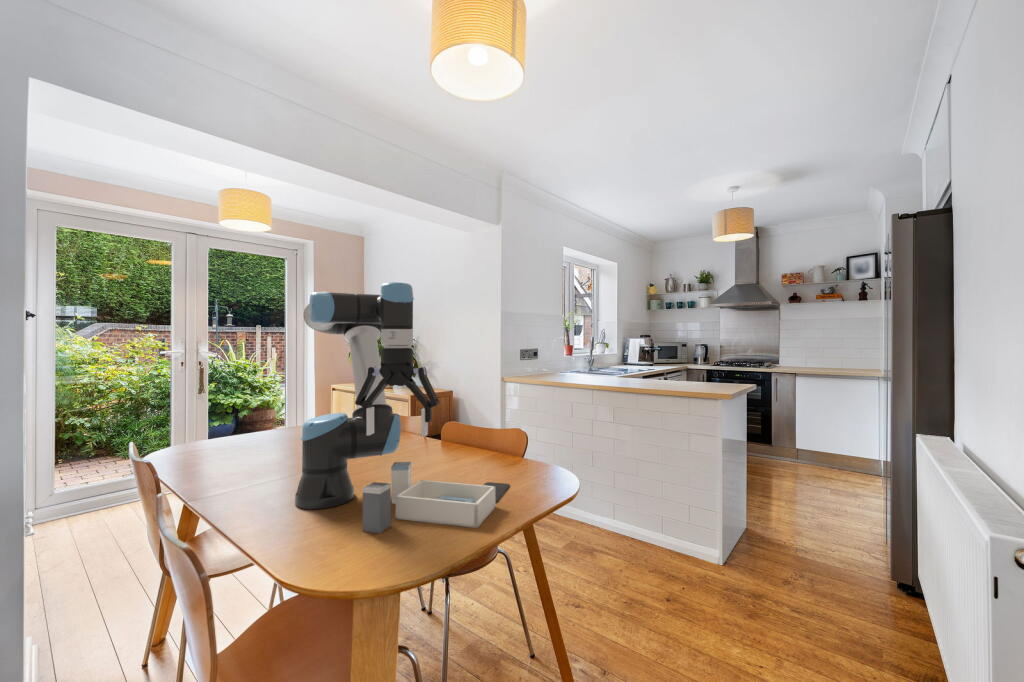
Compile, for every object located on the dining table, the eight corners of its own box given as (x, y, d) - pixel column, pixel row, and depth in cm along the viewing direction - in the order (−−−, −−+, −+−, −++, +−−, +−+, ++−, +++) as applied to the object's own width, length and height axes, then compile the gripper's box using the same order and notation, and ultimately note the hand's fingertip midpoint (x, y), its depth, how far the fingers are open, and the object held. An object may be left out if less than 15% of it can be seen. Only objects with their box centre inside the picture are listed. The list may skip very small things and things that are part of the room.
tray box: (395, 518, 109) (395, 496, 109) (421, 499, 122) (421, 479, 122) (477, 528, 103) (477, 504, 103) (495, 507, 116) (495, 486, 116)
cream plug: (391, 503, 119) (391, 466, 119) (394, 497, 123) (394, 462, 124) (408, 503, 119) (408, 466, 119) (411, 497, 124) (411, 461, 124)
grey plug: (362, 531, 101) (362, 488, 101) (374, 523, 106) (373, 482, 106) (380, 533, 100) (379, 489, 100) (390, 525, 104) (390, 483, 105)
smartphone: (496, 505, 118) (510, 486, 134) (496, 502, 118) (510, 483, 134) (468, 503, 120) (485, 484, 135) (468, 500, 120) (485, 481, 135)
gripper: (340, 347, 104) (340, 437, 104) (443, 347, 101) (443, 439, 101) (355, 346, 111) (355, 430, 111) (451, 346, 108) (451, 432, 108)
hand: (397, 435), depth 106 cm, fingers open, 13 cm apart
